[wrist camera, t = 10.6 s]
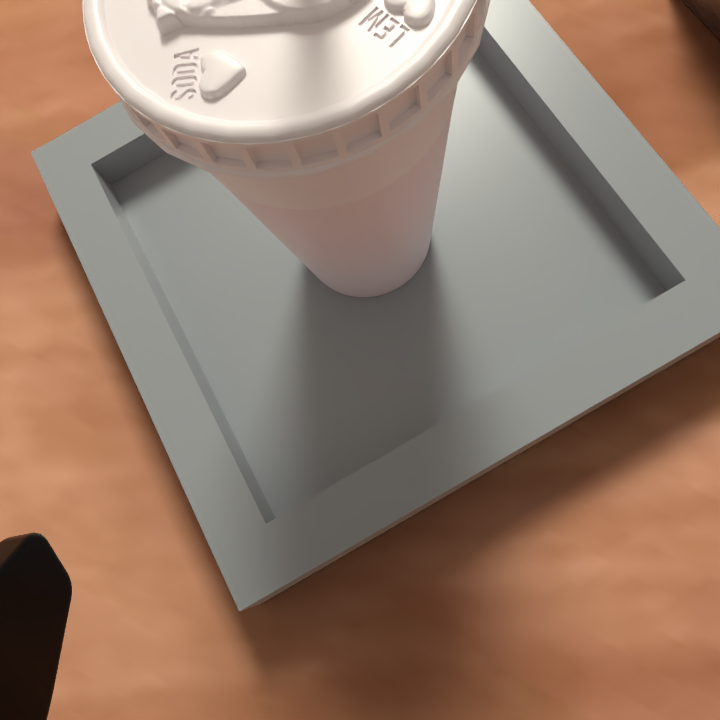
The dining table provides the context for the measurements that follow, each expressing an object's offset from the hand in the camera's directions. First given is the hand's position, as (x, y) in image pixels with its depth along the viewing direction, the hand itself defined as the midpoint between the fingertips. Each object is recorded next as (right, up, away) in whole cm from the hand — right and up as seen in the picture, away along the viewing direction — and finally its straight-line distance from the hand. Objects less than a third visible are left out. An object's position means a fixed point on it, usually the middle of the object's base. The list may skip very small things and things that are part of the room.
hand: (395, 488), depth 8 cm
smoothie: (0, +5, +11) cm, 12 cm away
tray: (0, +5, +12) cm, 13 cm away
